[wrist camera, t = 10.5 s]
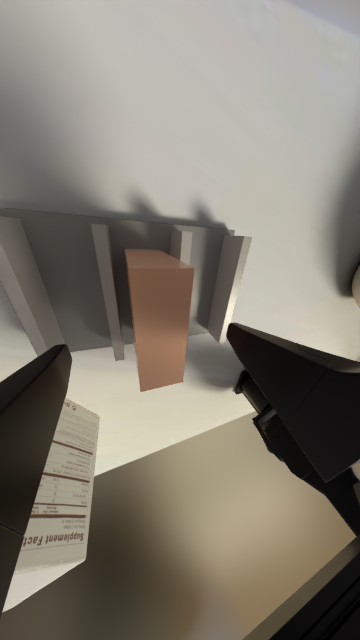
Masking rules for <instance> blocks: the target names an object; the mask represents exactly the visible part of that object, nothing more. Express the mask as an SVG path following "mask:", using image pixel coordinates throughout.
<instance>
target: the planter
mask: <svg viewBox="0 0 360 640" xmlns="http://www.w3.org/2000/svg"><path fill="white" fill-rule="evenodd" d="M352 293H353V297H354V300H355V302H356V303H357V305H358V306H359V307H360V265H359V267H358V268H357V270H356V273H355V275H354V278H353V281H352Z"/></svg>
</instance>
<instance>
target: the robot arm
mask: <svg viewBox="0 0 360 640" xmlns="http://www.w3.org/2000/svg"><path fill="white" fill-rule="evenodd" d="M226 337H227V339H228V341H229V343H230V344H231V346H232V348H233V350H234V352H235V353H236V355H237V357H238V358H239V360H240V361H241V362H242V364H243V365H244V367H245V368H246V370H245V371H243V372H242V373H241V376H240V379H239V382H238V384H237V387H236V390H235V393H236V394H240V393H243V394H244V396H245V397H246V398H247V400H248V401H249V402H250V404H251V405H252V406H253V408H254V409H255V410H256V412H257V413H258V414H259V415H257V416H256V417H254V418H253V419H252V420H253V421H254V422H253V423H254V425H255V426H256V428H257V429H258V431H259V433H260V435H261V436H262V438H263V441H264V443H265V445H266V447H267V449H268V451H269V452H270V453H273V454H274V455H275V456H276V457H277V458H278V459H279V460H280V461H282V462H285V463H286V465H287V466H288V468H289V469H290V471H291V472H292V473H293V474H295V475H296V476H297V477H299V478H300V479H302V480H304V481H305V482H307V483H308V484H310V485H311V486H312V487H314V488H315V489H317V490H318V491H320V492H321V493H323V494H324V495H325V496H326V497H327V498H328V500H329V501H330V502H331V504H332V505H333V506H334V507H335V509H336V510H337V511H338V513H339V514H340V515H341V517H342V518H343V519H344V521H345V522H346V523H347V525H348V526H349V527H350V528H351V530H352V531H353V532H354V534H355V535H356V536H357V537H356V538H355V539H354V540H353V541H352V542H350V543H349V544H348V545H347V546H346V547H345V548H344V549H343V550H342V551H340V552H339V553H338V554H337V555H336V556H335V557H334V558H333V559H332V560H331V561H329V562H328V563H327V564H326V565H325V566H324V567H323V568H322V569H321V570H319V571H318V572H317V573H316V574H315V575H314V576H313V577H312V578H310V579H309V580H308V581H307V582H306V583H305V584H304V585H303V586H302V587H301V588H299V589H298V590H297V591H296V592H295V593H294V594H293V595H292V596H290V597H289V598H288V599H287V600H286V601H285V602H284V603H283V604H282V605H280V606H279V607H278V608H277V609H276V610H275V611H274V612H273V613H271V614H270V615H269V616H268V617H267V618H266V619H265V620H264V621H263V622H261V623H260V624H259V625H258V626H257V627H256V628H255V629H254V630H253V631H251V632H250V633H249V634H248V635H247V636H246V637H245V638H244V639H243V640H360V479H359V478H358V476H357V474H356V472H355V470H354V467H353V465H354V464H356V463H357V464H358V465H359V466H360V362H357V361H353V360H350V359H347V358H343V357H340V356H336V355H333V354H330V353H326V352H323V351H320V350H316V349H313V348H310V347H307V346H304V345H301V344H298V343H294V342H292V341H289V340H286V339H283V338H280V337H277V336H274V335H271V334H268V333H265V332H262V331H259V330H256V329H253V328H250V327H247V326H244V325H241V324H238V323H230V324H229V325H228V328H227V332H226ZM71 364H72V357H71V354H70V351H69V348H68V346H67V345H66V344H59V345H55V346H53V347H52V348H50V349H49V350H47V351H46V352H44V353H43V354H41V355H40V356H38V357H37V358H35V359H34V360H32V361H31V362H30V363H28V364H27V365H25V366H24V367H22V368H21V369H19V370H18V371H16V372H15V373H13V374H12V375H10V376H9V377H7V378H6V379H4V380H3V381H1V382H0V618H1V615H2V611H3V608H4V605H5V601H6V598H7V594H8V591H9V588H10V584H11V581H12V577H13V574H14V571H15V567H16V564H17V561H18V557H19V554H20V550H21V547H22V544H23V540H24V535H25V533H26V529H27V526H28V523H29V519H30V516H31V512H32V509H33V506H34V502H35V499H36V495H37V492H38V489H39V485H40V482H41V478H42V475H43V472H44V468H45V465H46V462H47V458H48V455H49V451H50V448H51V445H52V441H53V438H54V434H55V431H56V428H57V424H58V421H59V417H60V414H61V411H62V407H63V404H64V400H65V397H66V393H67V389H68V383H69V377H70V370H71Z"/></svg>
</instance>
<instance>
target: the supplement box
mask: <svg viewBox="0 0 360 640" xmlns="http://www.w3.org/2000/svg"><path fill="white" fill-rule="evenodd" d="M99 420H100V417H99V416H98V415H96V414H94V413H92V412H90V411H88V410H87V409H85V408H83V407H81V406H79V405H77V404H75V403H74V402H72V401H70V400H68V399H66V398H65V400H64V404H63V407H62V411H61V414H60V417H59V421H58V424H57V428H56V431H55V434H54V438H53V441H52V445H51V448H50V451H49V455H48V458H47V462H46V465H45V468H44V472H43V475H42V478H41V482H40V485H39V489H38V492H37V495H36V499H35V502H34V506H33V509H32V512H31V516H30V519H29V523H28V526H27V529H26V533H25V535H24V540H23V544H22V547H21V550H20V554H19V557H18V561H17V564H16V567H15V571H14V574H13V577H12V581H11V584H10V588H9V591H8V594H7V598H6V601H5V605H4V608H3V611H2V612H4V611H6V610H8V609H11V608H13V607H14V606H16V605H17V604H18V603H20V602H21V601H23V600H24V599H26V598H27V597H29V596H30V595H32V594H33V593H35V592H37V591H38V590H40V589H41V588H43V587H44V586H46V585H47V584H49V583H50V582H52V581H54V580H55V579H57V578H58V577H60V576H61V575H63V574H64V573H66V572H67V571H69V570H71V569H72V568H74V567H75V566H77V565H78V564H80V563H82V562H83V561H85V559H86V550H87V549H86V548H87V540H88V530H89V520H90V508H91V500H92V489H93V480H94V470H95V460H96V450H97V440H98V430H99Z"/></svg>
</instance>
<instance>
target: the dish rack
mask: <svg viewBox="0 0 360 640" xmlns="http://www.w3.org/2000/svg"><path fill="white" fill-rule="evenodd" d="M234 232H235V230H227V229H217V228H206V227H196V226H186V225H175V224H165V223H154V222H144V221H133V220H123V219H112V218H102V217H92V216H81V215H71V214H60V213H50V212H39V211H29V210H18V209H8V208H0V281H1V283H2V285H3V287H4V289H5V291H6V293H7V295H8V297H9V299H10V301H11V303H12V305H13V307H14V309H15V312H16V314H17V316H18V318H19V320H20V322H21V324H22V326H23V328H24V330H25V332H26V334H27V336H28V338H29V340H30V342H31V344H32V346H33V348H34V350H35V352H36V354H37V356H40V355H41V354H43V353H44V352H46V351H47V350H49V349H50V348H52V347H53V346H55V345H59V344H66V345H67V346H68V348H69V351H70V352H74V351H81V350H88V349H96V348H103V347H110V346H113V350H114V356H115V361H118V360H124V344H131V343H134V337H133V329H132V319H131V309H130V299H129V290H128V280H127V270H126V260H125V250H124V249H149V250H161V251H163V252H165V253H166V254H168V255H170V256H172V257H174V258H176V259H178V260H180V261H182V262H184V263H186V264H188V265H189V266H191V267H193V268H195V269H194V279H193V289H192V298H191V308H190V317H189V327H188V336H189V335H196V334H203V333H210V334H211V335H212V336H213V337H214V338H215V340H216V341H217V342H218V343H219V344H220V343H225V340H226V332H227V328H228V325H229V324H230V321H231V317H232V313H233V309H234V305H235V301H236V298H237V294H238V290H239V286H240V282H241V278H242V274H243V270H244V267H245V263H246V259H247V255H248V251H249V247H250V243H251V239H252V237H246V236H234Z"/></svg>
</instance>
